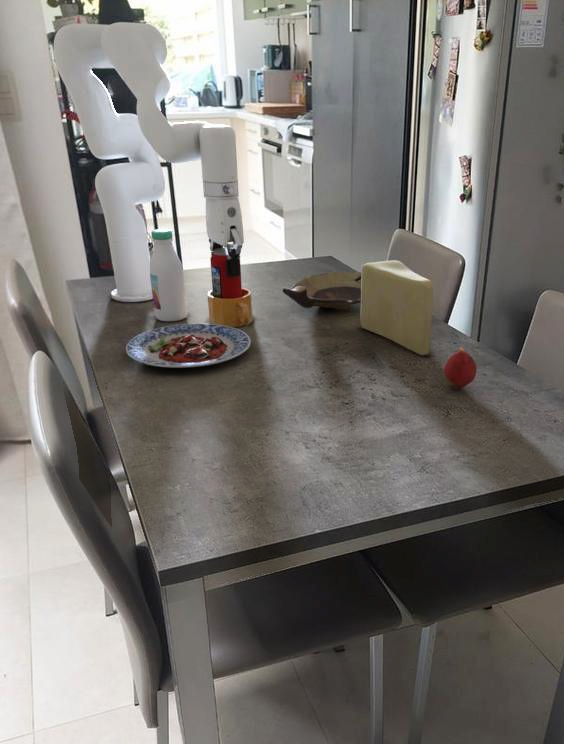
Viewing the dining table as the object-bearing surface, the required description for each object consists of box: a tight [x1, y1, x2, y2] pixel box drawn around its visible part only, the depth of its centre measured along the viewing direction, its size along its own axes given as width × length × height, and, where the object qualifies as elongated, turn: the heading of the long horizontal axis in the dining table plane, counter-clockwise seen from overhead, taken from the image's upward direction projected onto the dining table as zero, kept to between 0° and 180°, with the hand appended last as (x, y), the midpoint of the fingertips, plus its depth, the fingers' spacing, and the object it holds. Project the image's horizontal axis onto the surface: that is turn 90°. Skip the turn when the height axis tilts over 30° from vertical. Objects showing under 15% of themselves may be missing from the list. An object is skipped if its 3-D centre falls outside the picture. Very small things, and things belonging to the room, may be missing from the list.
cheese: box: [360, 259, 434, 356], centre depth 150 cm, size 22×10×15 cm, turn 24°
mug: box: [207, 287, 254, 328], centre depth 162 cm, size 14×10×6 cm
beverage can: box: [210, 247, 243, 299], centre depth 160 cm, size 7×7×12 cm
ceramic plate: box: [125, 322, 252, 369], centre depth 146 cm, size 26×26×3 cm
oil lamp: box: [281, 271, 362, 309], centre depth 174 cm, size 22×30×8 cm
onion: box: [444, 347, 478, 390], centre depth 129 cm, size 6×6×8 cm
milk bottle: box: [150, 228, 189, 322], centre depth 162 cm, size 8×8×20 cm
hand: (226, 271), depth 160 cm, fingers closed on beverage can, 6 cm apart
